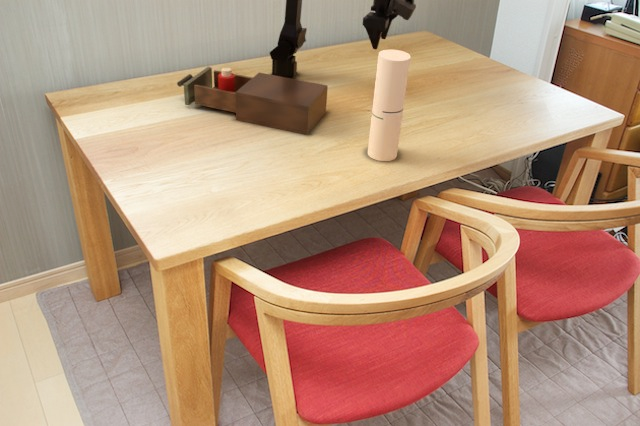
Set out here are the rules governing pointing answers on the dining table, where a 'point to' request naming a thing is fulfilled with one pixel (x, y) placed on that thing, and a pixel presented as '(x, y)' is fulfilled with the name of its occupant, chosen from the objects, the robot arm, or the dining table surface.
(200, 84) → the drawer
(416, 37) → the dining table surface
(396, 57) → the cylindrical container
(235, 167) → the dining table surface
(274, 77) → the cabinet
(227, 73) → the ketchup bottle
